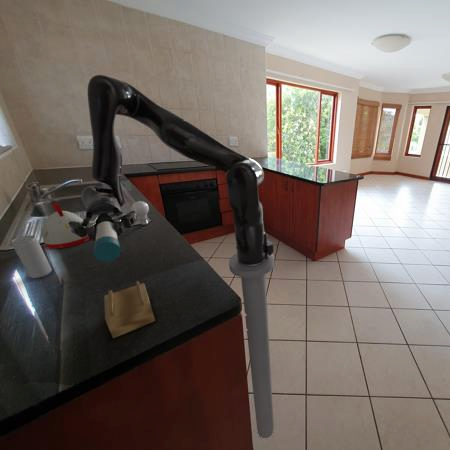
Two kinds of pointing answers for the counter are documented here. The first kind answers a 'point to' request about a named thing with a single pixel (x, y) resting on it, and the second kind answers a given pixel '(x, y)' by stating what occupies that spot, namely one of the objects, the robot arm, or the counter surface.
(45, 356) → the counter surface
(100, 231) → the marker
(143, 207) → the lightbulb
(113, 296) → the cradle
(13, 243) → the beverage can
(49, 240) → the kitchen timer
